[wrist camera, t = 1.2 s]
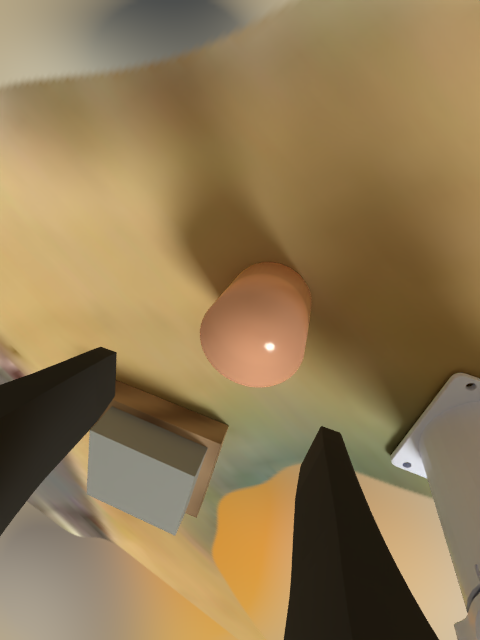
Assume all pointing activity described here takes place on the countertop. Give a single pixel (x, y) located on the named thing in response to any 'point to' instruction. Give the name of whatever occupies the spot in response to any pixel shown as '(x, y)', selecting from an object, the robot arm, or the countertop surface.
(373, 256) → the countertop surface
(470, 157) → the countertop surface
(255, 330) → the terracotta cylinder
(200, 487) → the walnut slab
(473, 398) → the robot arm
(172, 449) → the gray slab
